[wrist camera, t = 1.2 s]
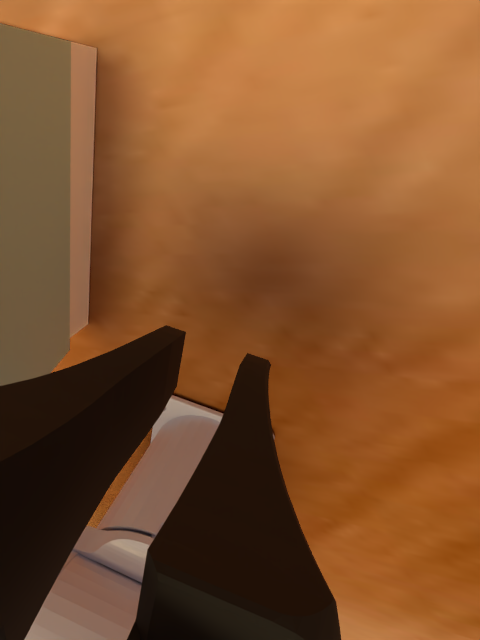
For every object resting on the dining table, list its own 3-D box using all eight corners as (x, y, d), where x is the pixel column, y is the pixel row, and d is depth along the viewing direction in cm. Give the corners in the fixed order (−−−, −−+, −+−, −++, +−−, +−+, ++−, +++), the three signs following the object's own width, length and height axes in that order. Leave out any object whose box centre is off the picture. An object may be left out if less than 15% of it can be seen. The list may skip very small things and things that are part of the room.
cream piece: (88, 323, 26) (57, 347, 23) (-14, 288, 27) (-55, 306, 24) (96, 48, 18) (53, 36, 16) (-46, 12, 19) (-109, -4, 17)
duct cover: (59, 347, 23) (69, 350, 23) (-21, 437, 17) (-7, 440, 17) (55, 37, 16) (70, 41, 16) (-89, 0, 10) (-63, 7, 10)
